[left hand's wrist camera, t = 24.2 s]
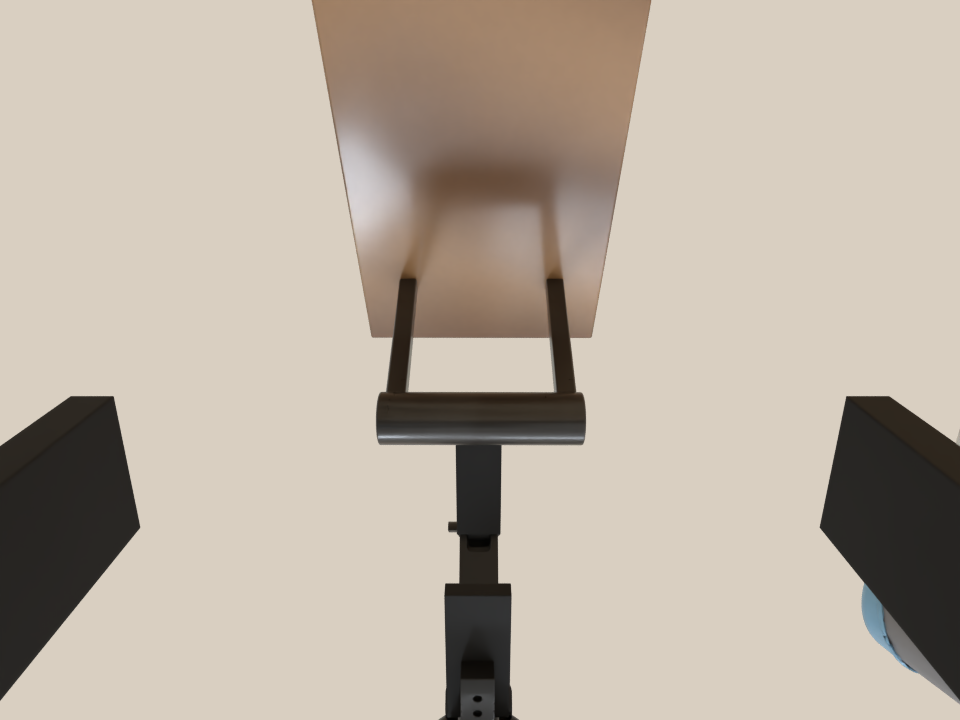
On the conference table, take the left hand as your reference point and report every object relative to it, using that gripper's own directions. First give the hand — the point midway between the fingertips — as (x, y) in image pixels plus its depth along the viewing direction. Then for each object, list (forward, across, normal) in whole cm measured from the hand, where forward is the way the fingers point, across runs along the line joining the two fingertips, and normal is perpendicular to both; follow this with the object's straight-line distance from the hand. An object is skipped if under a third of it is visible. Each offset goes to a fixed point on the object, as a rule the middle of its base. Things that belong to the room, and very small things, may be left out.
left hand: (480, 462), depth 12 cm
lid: (+15, 0, -4) cm, 16 cm away
